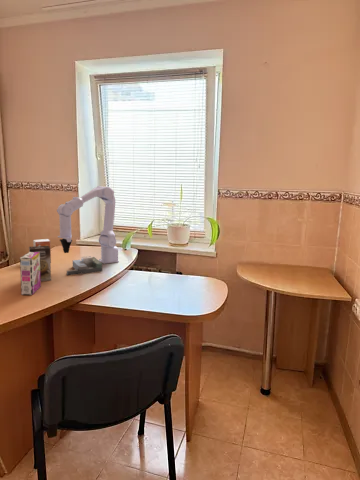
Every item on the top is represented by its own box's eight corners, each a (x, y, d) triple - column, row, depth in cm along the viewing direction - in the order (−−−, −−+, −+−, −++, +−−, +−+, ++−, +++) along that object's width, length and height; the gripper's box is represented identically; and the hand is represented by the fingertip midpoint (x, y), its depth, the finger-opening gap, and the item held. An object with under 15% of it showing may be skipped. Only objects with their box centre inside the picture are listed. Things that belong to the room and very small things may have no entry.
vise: (94, 264, 189) (94, 256, 188) (102, 271, 178) (102, 263, 177) (61, 268, 180) (61, 260, 179) (67, 275, 168) (67, 266, 167)
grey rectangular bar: (79, 265, 185) (79, 259, 184) (87, 272, 174) (87, 266, 173) (72, 266, 183) (72, 260, 182) (79, 273, 171) (79, 267, 171)
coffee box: (30, 282, 156) (29, 249, 153) (29, 278, 161) (28, 246, 158) (51, 280, 160) (50, 248, 157) (49, 276, 166) (48, 245, 162)
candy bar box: (33, 295, 141) (31, 258, 137) (21, 295, 140) (18, 257, 137) (41, 286, 152) (40, 251, 148) (30, 286, 151) (28, 251, 148)
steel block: (90, 266, 185) (90, 256, 184) (92, 268, 182) (92, 257, 181) (81, 267, 183) (81, 257, 182) (83, 269, 179) (83, 258, 178)
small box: (36, 264, 184) (35, 242, 181) (33, 262, 189) (32, 239, 186) (51, 263, 188) (50, 240, 186) (48, 260, 194) (48, 238, 191)
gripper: (54, 225, 177) (55, 250, 180) (60, 230, 165) (61, 256, 168) (68, 224, 181) (68, 249, 184) (75, 229, 169) (75, 255, 172)
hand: (66, 252), depth 176 cm, fingers closed
